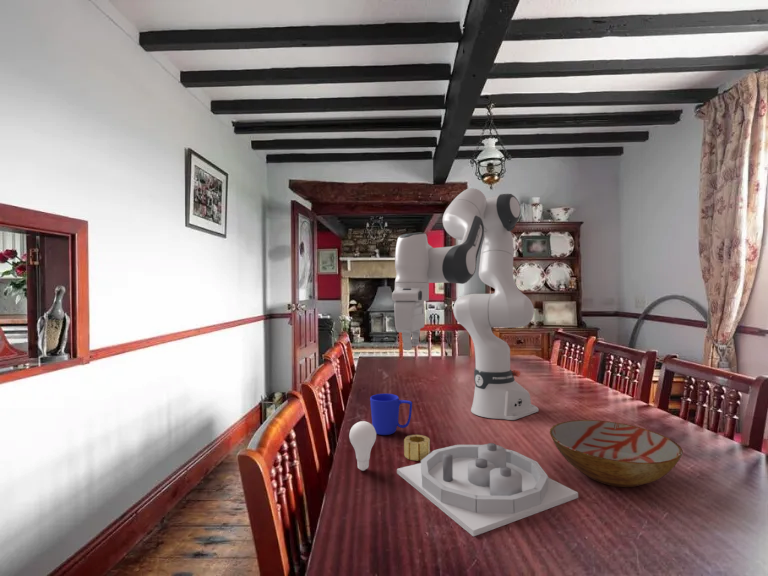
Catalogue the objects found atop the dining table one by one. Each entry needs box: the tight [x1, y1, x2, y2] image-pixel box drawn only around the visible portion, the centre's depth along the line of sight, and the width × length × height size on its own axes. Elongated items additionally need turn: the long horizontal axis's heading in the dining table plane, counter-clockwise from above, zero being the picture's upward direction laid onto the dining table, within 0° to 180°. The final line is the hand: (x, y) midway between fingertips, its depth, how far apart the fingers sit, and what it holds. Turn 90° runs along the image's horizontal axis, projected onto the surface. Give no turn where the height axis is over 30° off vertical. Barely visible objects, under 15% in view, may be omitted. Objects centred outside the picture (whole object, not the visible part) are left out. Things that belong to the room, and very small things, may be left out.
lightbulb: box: [348, 420, 377, 472], centre depth 92 cm, size 6×6×11 cm
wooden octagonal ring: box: [403, 434, 431, 462], centre depth 100 cm, size 6×6×4 cm
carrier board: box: [396, 442, 579, 537], centre depth 85 cm, size 26×26×6 cm
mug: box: [369, 393, 413, 436], centre depth 116 cm, size 8×12×10 cm
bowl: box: [549, 419, 684, 488], centre depth 89 cm, size 25×25×8 cm
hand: (411, 347), depth 105 cm, fingers open, 8 cm apart
